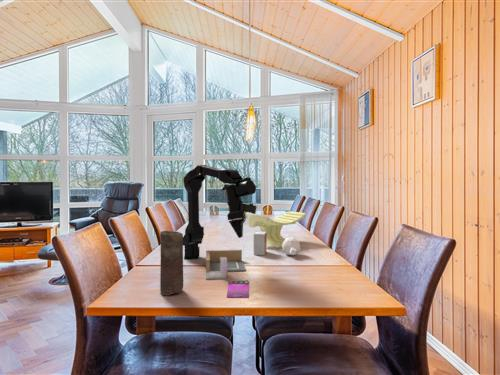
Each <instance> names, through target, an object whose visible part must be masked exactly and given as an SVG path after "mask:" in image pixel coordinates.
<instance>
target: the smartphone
mask: <svg viewBox="0 0 500 375" xmlns="http://www.w3.org/2000/svg"><path fill="white" fill-rule="evenodd" d="M226 298H228V299H236V298H237V299H239V298H240V299H249V298H250V282H249V280H248V279H229V280H228V284H227V290H226Z"/></svg>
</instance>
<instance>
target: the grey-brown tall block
mask: <svg viewBox="0 0 500 375" xmlns="http://www.w3.org/2000/svg"><path fill="white" fill-rule="evenodd" d="M183 237H184V233H181V232H180V231H174V230H173V231H172V230H171V231H170V230H162V231H160V274H159V278H160V279H159V280H160V281H159V282H160V283H159V284H160V286H159V287H160V294H161V295H162V296H171V295H172V294H173V295H174V294H178V293H180V292H181V291H182V290H183V289H184V246H183Z"/></svg>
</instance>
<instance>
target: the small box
mask: <svg viewBox="0 0 500 375" xmlns="http://www.w3.org/2000/svg"><path fill="white" fill-rule="evenodd" d="M266 253H267V232H261V231H256V232H255V233H253V255H254V256H265V255H266Z"/></svg>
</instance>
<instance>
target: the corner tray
mask: <svg viewBox="0 0 500 375" xmlns="http://www.w3.org/2000/svg"><path fill="white" fill-rule="evenodd" d="M220 257H226V258H227V273H229V272H230V273H231V272H246V271H247V270H246V267H245V264H244V263H243V260H242V259H243V258H242V257H243V251H242V249H215V250H214V249H212V250H209V249H208V250H206V251H205V273H206V272H211V271H220Z"/></svg>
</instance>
